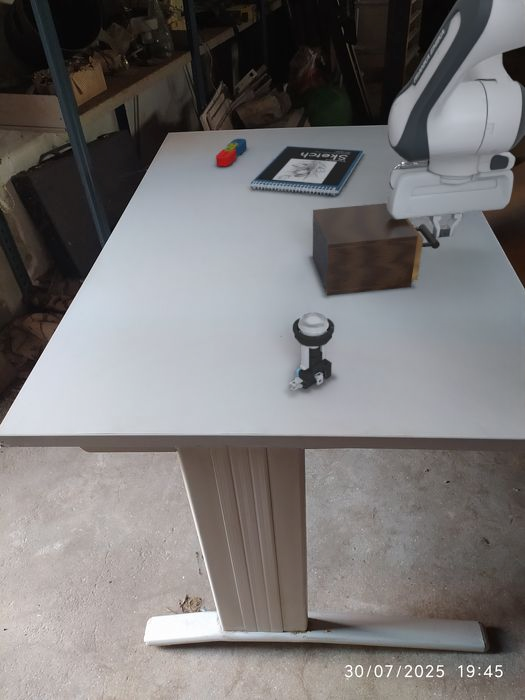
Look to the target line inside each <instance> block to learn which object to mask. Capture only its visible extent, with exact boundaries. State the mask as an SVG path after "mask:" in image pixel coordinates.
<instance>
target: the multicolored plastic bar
mask: <svg viewBox="0 0 525 700" xmlns="http://www.w3.org/2000/svg"><path fill="white" fill-rule="evenodd" d="M247 149H248V148H247V139H246V138H235V139H233V140H231V141H230V143H227V145H226V147H225V148H224V149H222V150H221V151H219V153H217V154H216V155H215V160H216V165H217V166H218V167H227V166H230V165H231V164H233V163H234V162H235V161H236V160H237V158H238V156H239V155H241V154H243V153H244V152H245V151H246V150H247Z"/></svg>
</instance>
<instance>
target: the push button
mask: <svg viewBox="0 0 525 700" xmlns="http://www.w3.org/2000/svg"><path fill="white" fill-rule="evenodd" d="M292 332H293V334H294V339H295V340H296V341H297V342H298V343H299V344H300V365H299V366H298V367H297V368H296V369H295V378H294V379H292V380H291V381H290V382H289V385H291V386H290V387H289V389H290V390H291V391H293V392H294V391H296V390H298V389H301V388H303V389H304V390H307V389H308V388H310V387H312V386H313V385H315V384H316V385H317V386H320V384H322V383H323V382H324V379H329V378H330V377H332V363H333V362H332V361H330V360H329V359H327V357H326V356H327V355H326V345H327V344H328V343H329V342H330V340H332V339H333V334H334V332H335V324H334V322H333V321H332V320H331V319H330V318H329V317H327V316H326V315H324V314H323V313H320V312H314V311H313V312H306V313H304V314H303V315H302V316H300V317H299V318H297V319H295V321H293V324H292Z"/></svg>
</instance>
